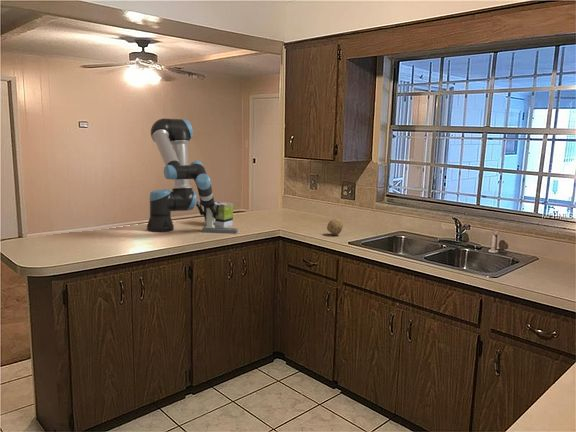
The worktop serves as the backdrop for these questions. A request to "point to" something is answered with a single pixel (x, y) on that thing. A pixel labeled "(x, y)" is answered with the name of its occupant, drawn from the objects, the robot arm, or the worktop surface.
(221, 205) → the tea box
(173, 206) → the robot arm
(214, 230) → the fader console
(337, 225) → the natural sponge
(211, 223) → the fader tab
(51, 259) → the worktop surface
